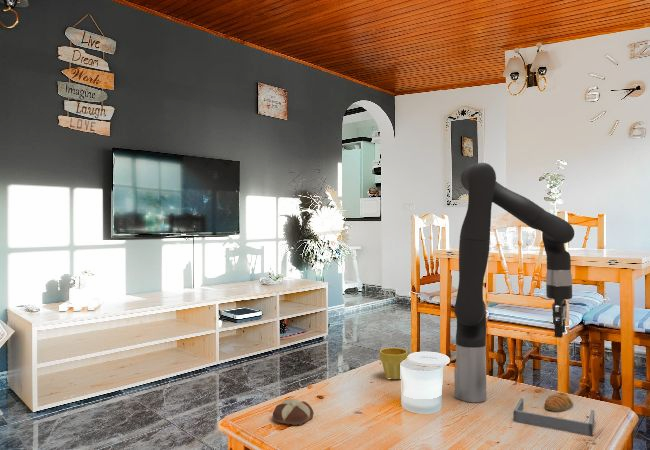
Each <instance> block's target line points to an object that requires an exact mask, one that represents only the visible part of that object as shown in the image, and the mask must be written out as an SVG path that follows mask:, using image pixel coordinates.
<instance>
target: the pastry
mask: <svg viewBox="0 0 650 450" xmlns="http://www.w3.org/2000/svg"><path fill="white" fill-rule="evenodd" d="M572 407H574V402H573V400H572V398H571V397H570V396H569V394H567V393H564V392H556V393H554V394H551V395H549V396H548V397H546V399H545V401H544V408H545V410H550V411H551V412H552V411H553V412H564V411H567V410H569V409H571V408H572Z"/></svg>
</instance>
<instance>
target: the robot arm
mask: <svg viewBox="0 0 650 450" xmlns="http://www.w3.org/2000/svg"><path fill="white" fill-rule="evenodd" d="M460 183H461V186H462V187H463V188H464V189H465V190H466V191H468V192H467V193H468V198H467V199H468V201H467V202H468V203H467V209H466V214H465V216H464V219H463V222H462V225H461V229H460V235H459V245H458V247H459V248H458V288H457V294H456V299H455V304H454V307H453V308H454V315H455V317H456V332H455V357H456V358H455V362H456V363H455V367H454V371H453V372H454V373H453V375H454V398H455V399H458V400H460V401H463V402H468V403H483V402H485V401H486V400H487V392H488V391H487V359H486V358H487V355H486V354H487V351H486V350H487V345H486V343H487V341H486V340H487V307H486V302H485V301H484V290H483V289H484V281H485V280H484V278H485V275H486V272H487V271H486V270H487V266H488V262H489V261H488V260H489V255H490V244H491V224H492V223H491V222H492V205H493V204H495V205H497V206H498V207H500V208H502V209H503V210H504V211H506V212H507V213H509V214H510V215H512V217H515V218H516V219H517V220H519V221H520V222H522V223H523V224H524V225H526V226H527V227H530V228H531V229H534V230H538V231H540V232H542V233H541V234H542V235H541V236H542V243H543V248H544V252H545V254H546V274H545V287H546V289H545V290H546V291H545V293H546V297H547V299H553V300H554V301H553V303H552V304H551V308H552V324H553V325H554V337H555V338H563V337H564V336H563V334H565V333H566V321H567V311H568V310H567V308H568V306H567V305H568V304H567V300H571V299H573V274H572V265H571V263H572V261H571V254H570V253H569V252H568V251H567V250H566V248H565V244H568V243H570V242H571V241H572V240H573V239H574V237H575V229H574V228H573V226H572V224H571V223H569V222H568V221H566V220H565V219H564V218H561V217H559V216H557V215H555V214H553V213H550V212H549V211H546V210H545V209H544V208H543V207H541V206H540V205H539V204H537V203H535V202H534V201H533V200H531V199H529V198H527V197H525V196H523V195H521V194H519V193H517V192H515V191H512V190H511V189H508V188H507V187H504V186H503V185H502V184H501V183H499V182H498V181H497V173H496V171H495V169H494V167H493V166H492V165H491V164H489V163H486V162H477V163H474V164H473V163H472V164H470V165H468V166H466V167H465V168H464V169H463V170H462V172H461V175H460Z"/></svg>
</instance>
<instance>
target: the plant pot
mask: <svg viewBox="0 0 650 450" xmlns="http://www.w3.org/2000/svg"><path fill="white" fill-rule="evenodd" d="M407 356H408V357H409V352H408V350H407V349H405V348H402V347H386V348H381V349H380V350H379V360H380V362H381V363H382V367H383V368H382V369H383V373H384V377H385V376H386V377H387V378H391V379H400V363H401V362H402V361H403V360H405V359H406V358H407ZM386 377H385V378H386ZM387 378H386V379H387ZM400 380H401V379H400Z"/></svg>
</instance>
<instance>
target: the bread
mask: <svg viewBox="0 0 650 450" xmlns="http://www.w3.org/2000/svg"><path fill="white" fill-rule="evenodd" d="M313 417H314V409H313V408H312V406H311V405H310V404H309V403H307V401H304V400H303V401H302V400H301V401H300V400H298V399H296V398H289V399H285V400H283V401H282V402H281V403H280V404H277V405H276V406H275V408H274V410H273V411H272V418H273V420H274V421H276V423H279V422H280V423H279V424H284V423H286V424H285V425H289V424H292V425H291V426H299V425H298V424H302V425H303V423H304V424H305V423H306V422H308V421H310V420H311V419H313Z"/></svg>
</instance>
